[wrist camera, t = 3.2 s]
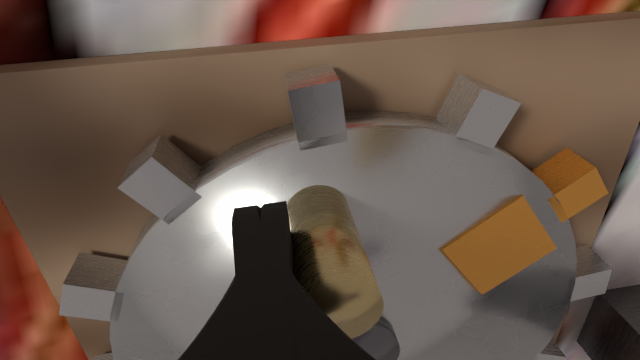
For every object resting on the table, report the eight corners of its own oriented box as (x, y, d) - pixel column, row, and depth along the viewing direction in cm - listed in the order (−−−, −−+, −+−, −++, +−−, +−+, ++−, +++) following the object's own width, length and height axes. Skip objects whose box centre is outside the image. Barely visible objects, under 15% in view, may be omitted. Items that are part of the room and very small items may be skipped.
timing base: (522, 390, 26) (532, 407, 25) (154, 456, 23) (151, 478, 22) (653, 9, 14) (682, 15, 13) (-41, 68, 12) (-66, 79, 11)
